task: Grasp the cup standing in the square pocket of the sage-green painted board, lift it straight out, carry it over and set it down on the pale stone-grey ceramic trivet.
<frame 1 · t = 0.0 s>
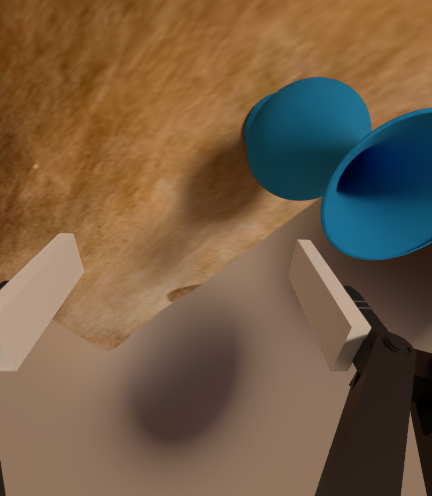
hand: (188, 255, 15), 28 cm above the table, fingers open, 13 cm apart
vase: (277, 130, 38), on the table
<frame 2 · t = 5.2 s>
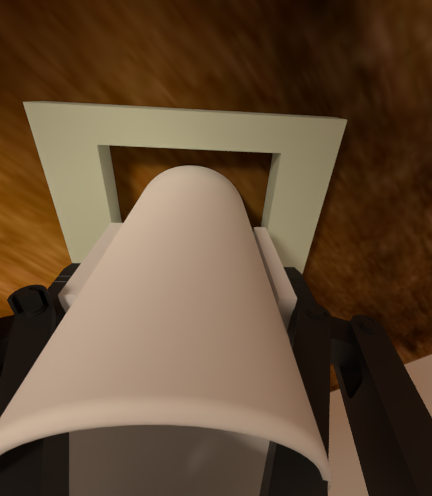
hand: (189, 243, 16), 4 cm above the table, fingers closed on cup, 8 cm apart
cup: (192, 217, 20), resting in pocket board, touching gripper
pocket board: (192, 218, 20), on the table
when the fingers open (6 cm above the table, at t = 9.8 s): cup drops 2 cm, resting on trivet.
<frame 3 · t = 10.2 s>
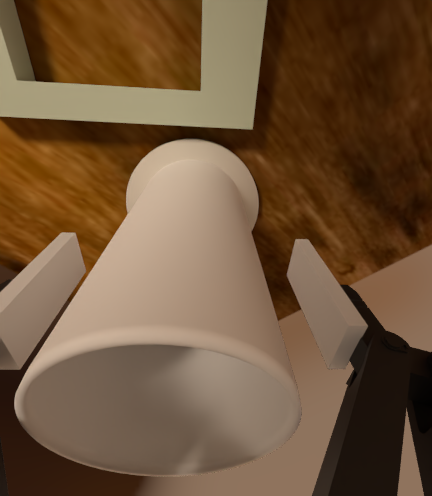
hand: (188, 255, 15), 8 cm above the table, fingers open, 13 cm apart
cup: (192, 209, 21), point 1 cm above the table, touching trivet
trivet: (193, 206, 22), on the table
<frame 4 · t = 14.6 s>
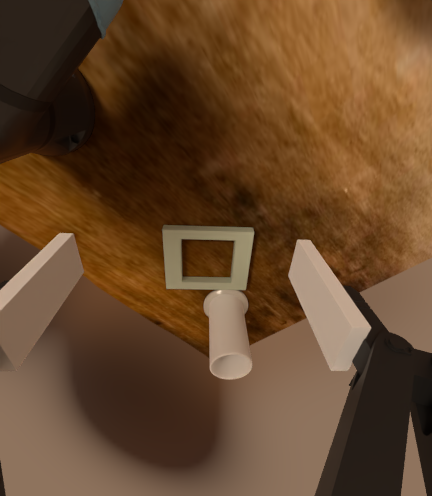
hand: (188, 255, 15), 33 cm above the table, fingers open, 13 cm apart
cup: (225, 306, 62), point 1 cm above the table, touching trivet
pocket board: (207, 257, 55), on the table
trivet: (225, 304, 62), on the table
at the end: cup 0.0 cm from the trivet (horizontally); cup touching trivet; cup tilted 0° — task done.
